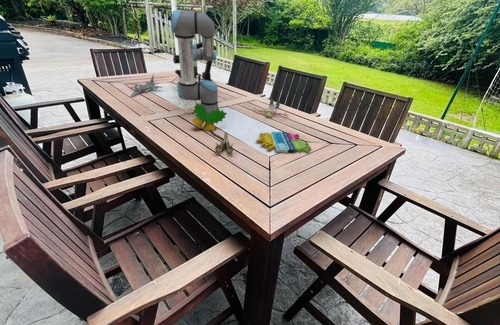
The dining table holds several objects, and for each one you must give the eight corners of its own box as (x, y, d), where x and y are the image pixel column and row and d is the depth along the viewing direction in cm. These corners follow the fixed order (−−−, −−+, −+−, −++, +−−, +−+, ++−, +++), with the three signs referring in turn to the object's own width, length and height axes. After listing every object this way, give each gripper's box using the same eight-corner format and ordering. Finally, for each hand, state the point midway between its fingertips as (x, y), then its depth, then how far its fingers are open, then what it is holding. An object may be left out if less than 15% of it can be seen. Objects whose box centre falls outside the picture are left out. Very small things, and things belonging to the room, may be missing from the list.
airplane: (124, 86, 239) (122, 75, 233) (160, 84, 252) (158, 73, 247) (129, 98, 210) (126, 86, 205) (168, 95, 223) (167, 83, 218)
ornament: (218, 133, 171) (224, 110, 169) (221, 134, 163) (227, 111, 161) (186, 125, 162) (192, 101, 160) (189, 126, 155) (195, 101, 153)
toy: (292, 100, 208) (288, 110, 182) (291, 109, 211) (287, 120, 186) (258, 96, 213) (250, 105, 187) (258, 105, 216) (249, 115, 190)
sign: (313, 150, 142) (258, 149, 139) (312, 153, 143) (258, 152, 140) (301, 132, 164) (254, 130, 161) (301, 134, 165) (254, 133, 162)
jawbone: (234, 135, 144) (233, 125, 135) (233, 160, 138) (232, 151, 129) (217, 135, 144) (216, 125, 135) (216, 160, 138) (214, 150, 129)
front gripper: (201, 64, 209) (201, 93, 221) (179, 65, 201) (181, 95, 212) (204, 66, 204) (205, 96, 215) (183, 67, 195) (184, 98, 207)
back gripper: (179, 65, 217) (180, 84, 225) (199, 64, 227) (200, 82, 235) (174, 63, 225) (175, 81, 232) (194, 62, 235) (194, 79, 243)
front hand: (193, 95), depth 214 cm, fingers closed on canister, 4 cm apart
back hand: (186, 81), depth 235 cm, fingers open, 9 cm apart
